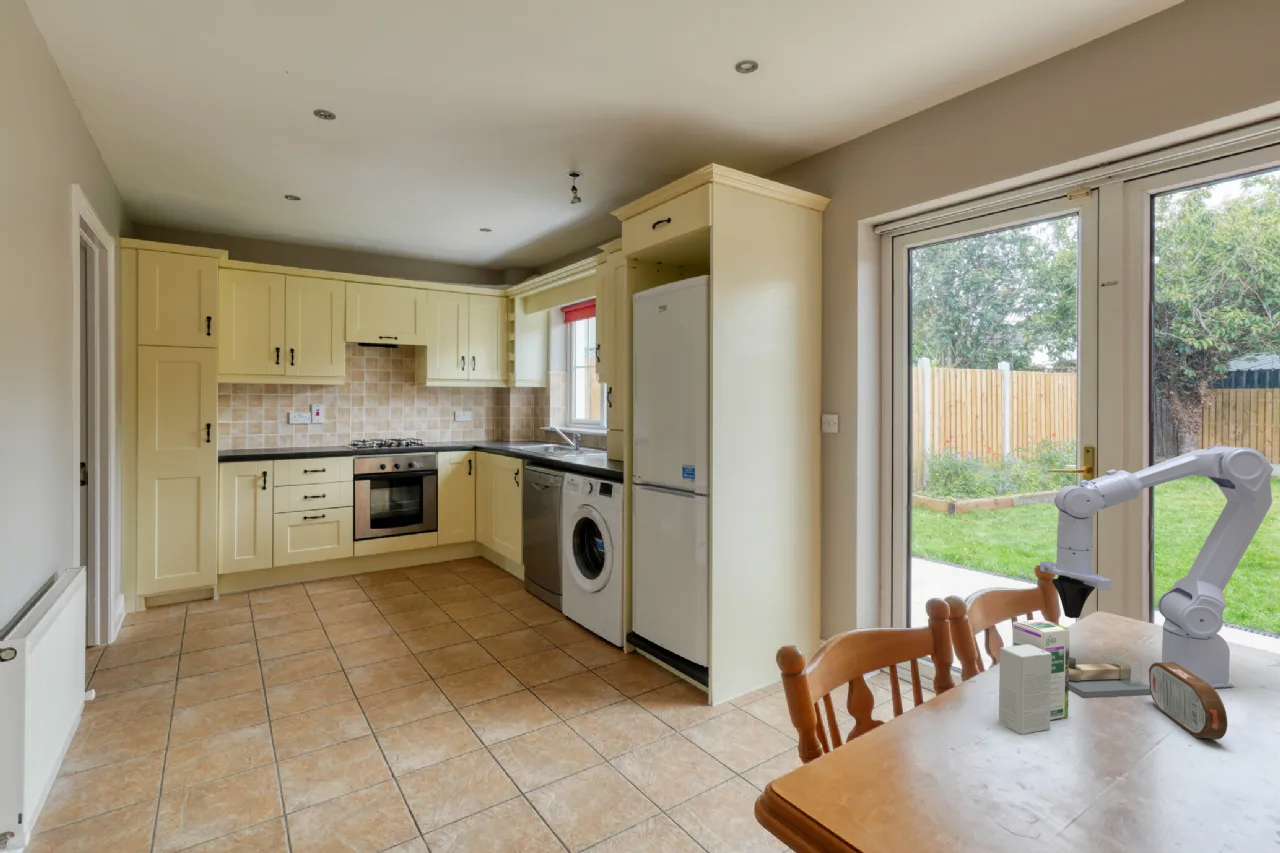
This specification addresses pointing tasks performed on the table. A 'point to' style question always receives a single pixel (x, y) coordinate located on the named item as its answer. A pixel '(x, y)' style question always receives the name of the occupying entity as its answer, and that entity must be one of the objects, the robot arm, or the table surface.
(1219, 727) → the tin
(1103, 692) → the slate board
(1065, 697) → the syrup box
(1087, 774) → the table surface
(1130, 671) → the steel keeper
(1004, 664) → the skincare box
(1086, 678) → the beech link
